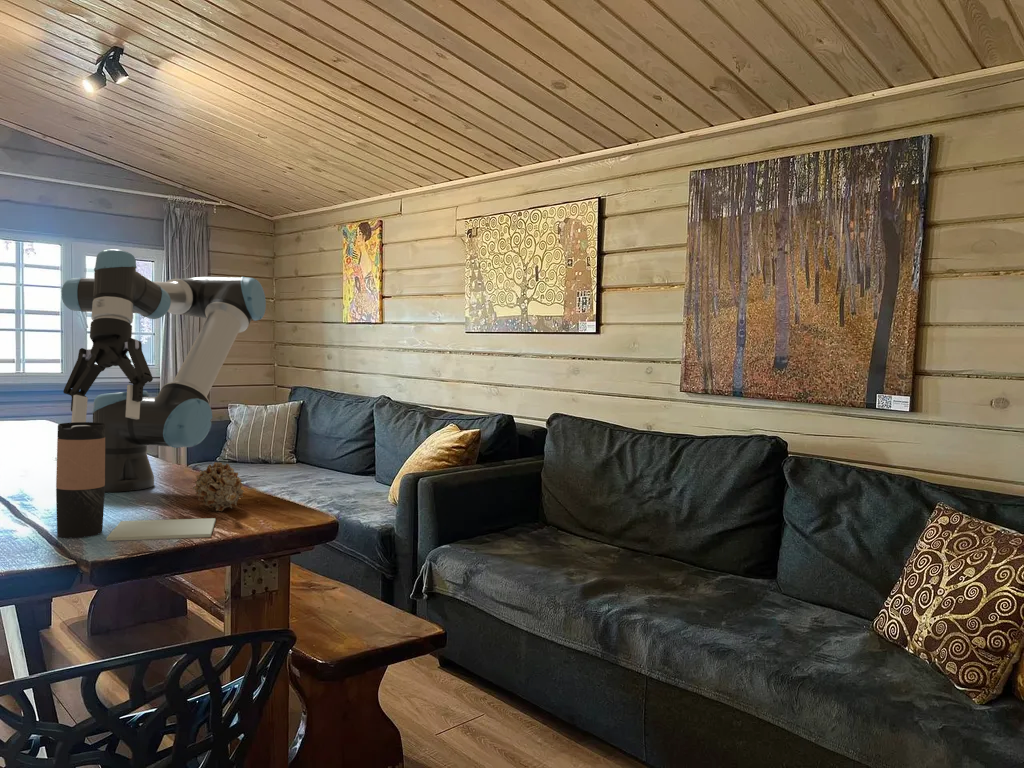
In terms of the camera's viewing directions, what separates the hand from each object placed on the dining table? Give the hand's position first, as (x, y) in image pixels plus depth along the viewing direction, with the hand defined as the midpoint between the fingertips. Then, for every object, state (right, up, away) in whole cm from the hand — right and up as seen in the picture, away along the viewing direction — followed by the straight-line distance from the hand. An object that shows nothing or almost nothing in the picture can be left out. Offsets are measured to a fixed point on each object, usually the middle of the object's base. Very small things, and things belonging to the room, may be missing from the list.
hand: (104, 423), depth 146 cm
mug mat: (+16, -20, -8) cm, 26 cm away
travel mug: (+2, -20, -12) cm, 23 cm away
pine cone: (+20, -20, +9) cm, 29 cm away
